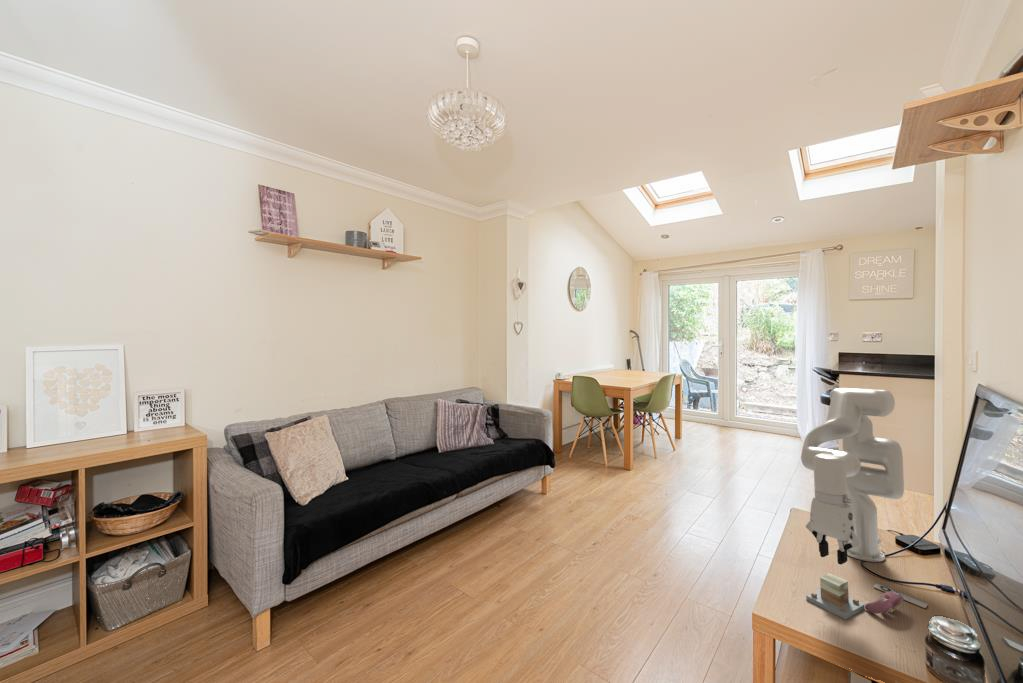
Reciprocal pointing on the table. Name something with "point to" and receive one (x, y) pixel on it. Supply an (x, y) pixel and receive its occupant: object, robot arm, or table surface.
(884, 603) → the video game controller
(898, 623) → the table surface
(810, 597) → the board
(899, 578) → the table surface
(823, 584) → the block stack
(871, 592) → the table surface
